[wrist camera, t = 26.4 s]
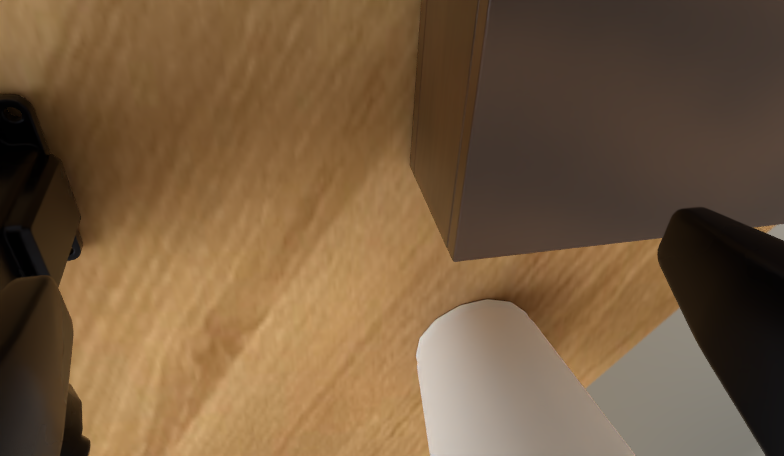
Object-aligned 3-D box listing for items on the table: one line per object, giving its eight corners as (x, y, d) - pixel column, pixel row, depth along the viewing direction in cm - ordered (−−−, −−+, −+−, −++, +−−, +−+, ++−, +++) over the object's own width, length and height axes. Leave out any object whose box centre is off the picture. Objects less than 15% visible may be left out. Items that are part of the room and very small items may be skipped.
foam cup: (458, 252, 27) (593, 542, 17) (592, 304, 31) (762, 557, 21) (354, 381, 31) (413, 675, 21) (485, 410, 35) (586, 665, 25)
